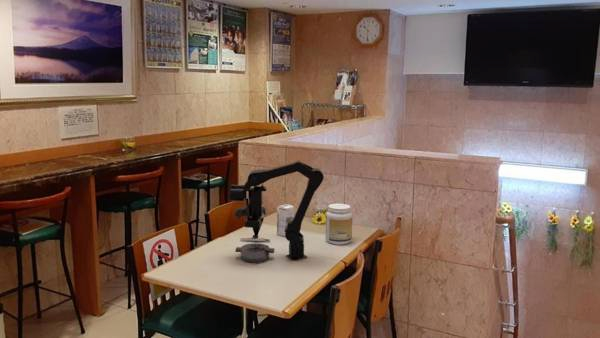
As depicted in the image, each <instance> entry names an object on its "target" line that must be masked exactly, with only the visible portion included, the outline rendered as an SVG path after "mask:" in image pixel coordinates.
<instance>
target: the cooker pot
mask: <svg viewBox="0 0 600 338" xmlns="http://www.w3.org/2000/svg"><path fill="white" fill-rule="evenodd" d="M235 253H240V260H241V261H242V262H243V263H247V264H261V263H262V264H263V263H265V262H268V261H269V260H270V254H274V253H275V247H273V248H272V247H270V246H269V245H267V244H266V243H248V244H247V243H246V244H244V245H242V246H241V247H240V246H239V247H238V246H236V248H235Z"/></svg>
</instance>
